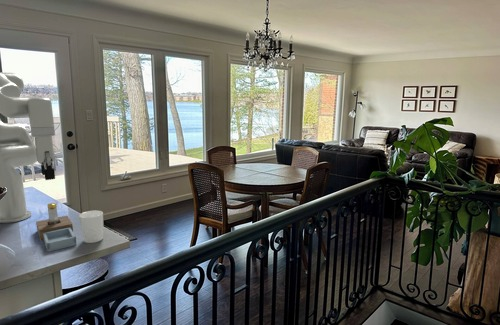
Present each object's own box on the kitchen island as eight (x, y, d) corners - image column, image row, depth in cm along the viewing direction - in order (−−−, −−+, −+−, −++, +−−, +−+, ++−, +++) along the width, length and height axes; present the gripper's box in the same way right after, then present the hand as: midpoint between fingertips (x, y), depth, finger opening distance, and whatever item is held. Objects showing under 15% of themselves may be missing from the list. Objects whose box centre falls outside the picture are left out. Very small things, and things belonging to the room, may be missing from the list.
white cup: (106, 241, 124) (104, 215, 122) (82, 245, 120) (79, 219, 118) (103, 233, 131) (101, 209, 129) (81, 237, 127) (78, 212, 125)
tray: (43, 240, 124) (42, 233, 123) (71, 234, 129) (70, 227, 129) (47, 251, 115) (46, 243, 115) (76, 244, 121) (75, 237, 120)
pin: (50, 231, 132) (46, 203, 130) (58, 230, 134) (55, 202, 131) (51, 234, 130) (47, 205, 127) (60, 232, 131) (56, 204, 129)
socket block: (37, 230, 133) (36, 221, 132) (68, 224, 139) (67, 215, 138) (40, 240, 124) (39, 230, 123) (73, 233, 131) (72, 223, 130)
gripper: (29, 130, 128) (34, 174, 132) (33, 134, 115) (39, 183, 118) (51, 129, 133) (56, 171, 136) (58, 133, 119) (63, 179, 123)
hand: (48, 176), depth 127 cm, fingers open, 9 cm apart
